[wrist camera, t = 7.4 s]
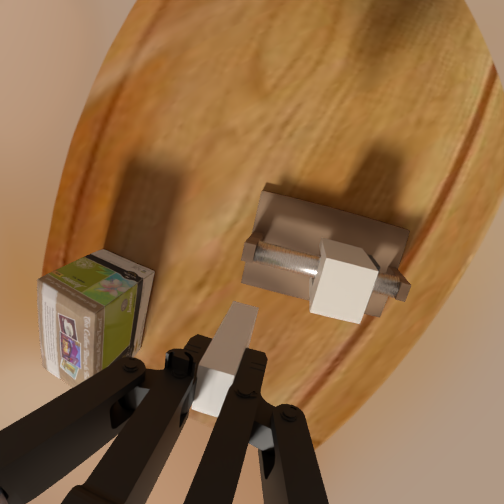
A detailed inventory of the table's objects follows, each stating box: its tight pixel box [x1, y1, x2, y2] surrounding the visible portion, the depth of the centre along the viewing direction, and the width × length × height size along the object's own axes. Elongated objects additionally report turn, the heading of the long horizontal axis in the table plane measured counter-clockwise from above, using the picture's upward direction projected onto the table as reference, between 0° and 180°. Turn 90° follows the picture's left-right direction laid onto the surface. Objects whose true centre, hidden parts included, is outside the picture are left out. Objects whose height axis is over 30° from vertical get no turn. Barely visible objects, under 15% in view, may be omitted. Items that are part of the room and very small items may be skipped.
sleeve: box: [309, 237, 379, 324], centre depth 31 cm, size 5×5×9 cm
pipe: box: [254, 241, 400, 298], centre depth 33 cm, size 3×16×3 cm, turn 78°
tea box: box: [37, 249, 155, 388], centre depth 39 cm, size 15×10×15 cm
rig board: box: [241, 190, 411, 317], centre depth 35 cm, size 12×19×7 cm, turn 78°
